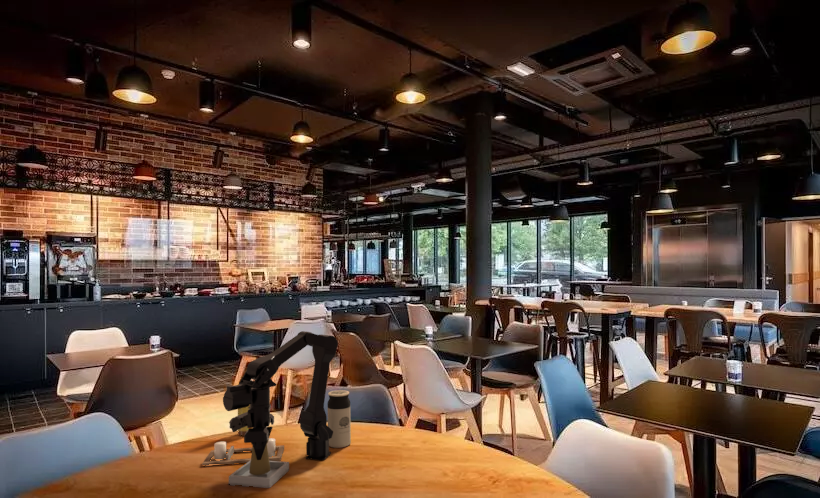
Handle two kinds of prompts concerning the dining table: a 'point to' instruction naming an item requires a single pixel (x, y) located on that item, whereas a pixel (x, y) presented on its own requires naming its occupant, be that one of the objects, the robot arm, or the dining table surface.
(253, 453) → the cork
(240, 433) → the sauce bottle
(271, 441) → the cylinder
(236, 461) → the ladder
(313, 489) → the dining table surface
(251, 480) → the tray
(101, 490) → the dining table surface
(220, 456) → the white short cylinder
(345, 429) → the travel mug
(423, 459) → the dining table surface
